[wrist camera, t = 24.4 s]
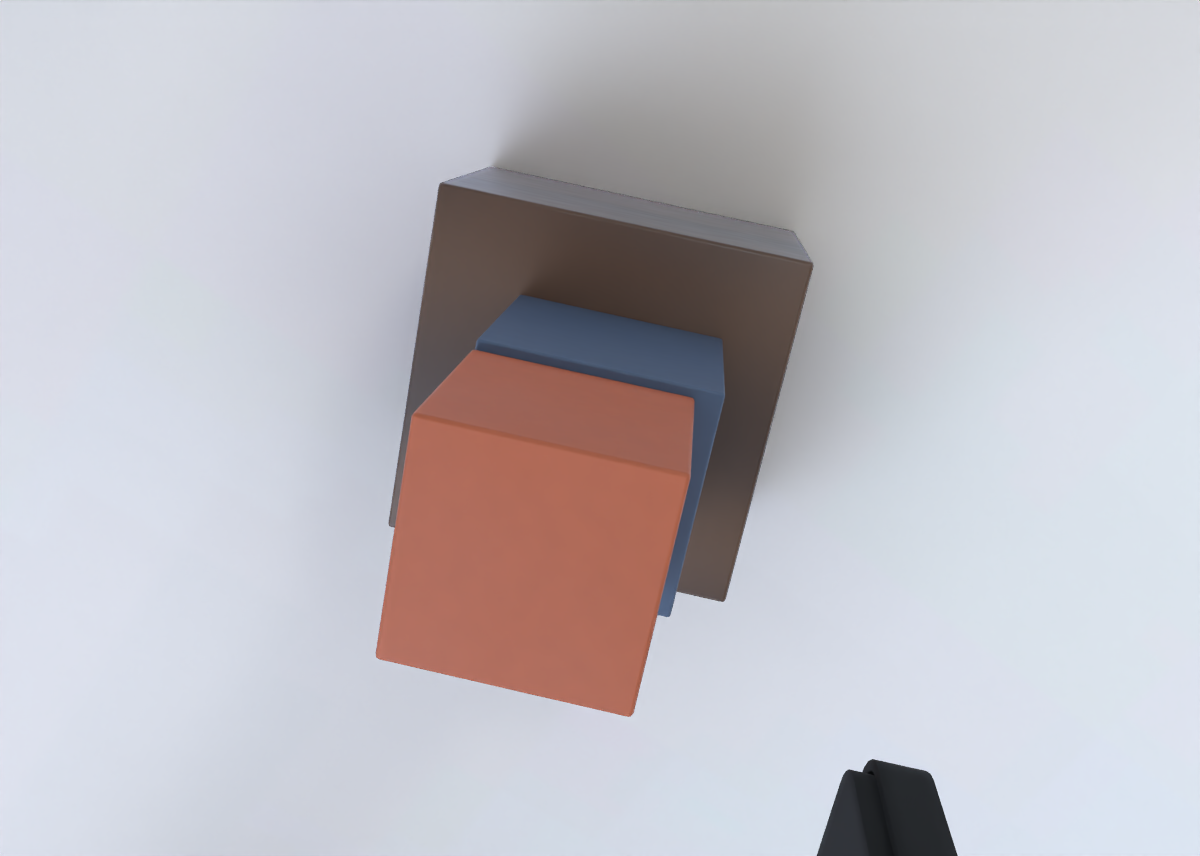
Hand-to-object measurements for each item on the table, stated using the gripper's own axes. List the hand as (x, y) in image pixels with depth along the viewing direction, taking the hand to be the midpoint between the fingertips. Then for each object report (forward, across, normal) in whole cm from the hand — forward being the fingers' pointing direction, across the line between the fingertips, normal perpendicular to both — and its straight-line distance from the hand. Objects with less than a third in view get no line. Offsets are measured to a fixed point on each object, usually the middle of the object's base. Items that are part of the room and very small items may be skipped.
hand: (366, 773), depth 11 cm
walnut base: (+22, -1, +1) cm, 22 cm away
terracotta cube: (+11, -1, +1) cm, 11 cm away
